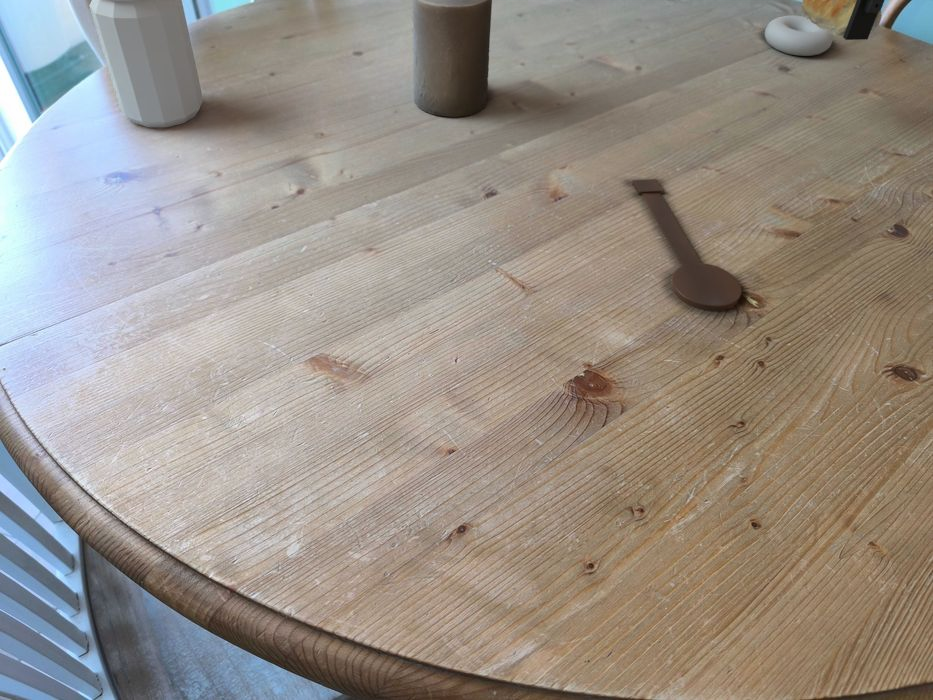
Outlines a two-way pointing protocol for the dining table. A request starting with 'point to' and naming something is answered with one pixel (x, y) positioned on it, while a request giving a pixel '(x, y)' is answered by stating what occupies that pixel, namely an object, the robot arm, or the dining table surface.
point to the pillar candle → (451, 55)
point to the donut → (797, 36)
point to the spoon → (689, 259)
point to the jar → (149, 59)
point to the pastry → (832, 14)
